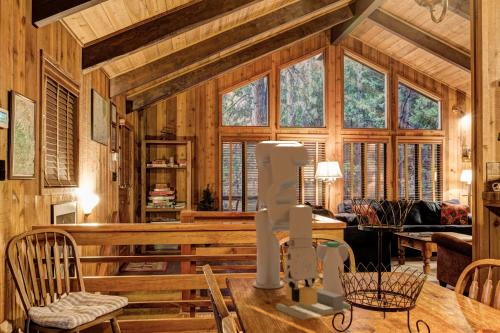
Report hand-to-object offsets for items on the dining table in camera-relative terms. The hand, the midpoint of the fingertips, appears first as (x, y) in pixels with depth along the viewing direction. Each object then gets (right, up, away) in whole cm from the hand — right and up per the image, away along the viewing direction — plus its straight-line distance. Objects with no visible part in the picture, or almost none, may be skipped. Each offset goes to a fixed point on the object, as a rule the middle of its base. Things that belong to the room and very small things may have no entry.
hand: (301, 299), depth 152 cm
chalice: (+20, -7, +57) cm, 60 cm away
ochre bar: (0, 0, 0) cm, 0 cm away
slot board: (+5, -5, +3) cm, 7 cm away
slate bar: (+9, -4, +6) cm, 12 cm away
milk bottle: (+15, -6, +25) cm, 29 cm away
